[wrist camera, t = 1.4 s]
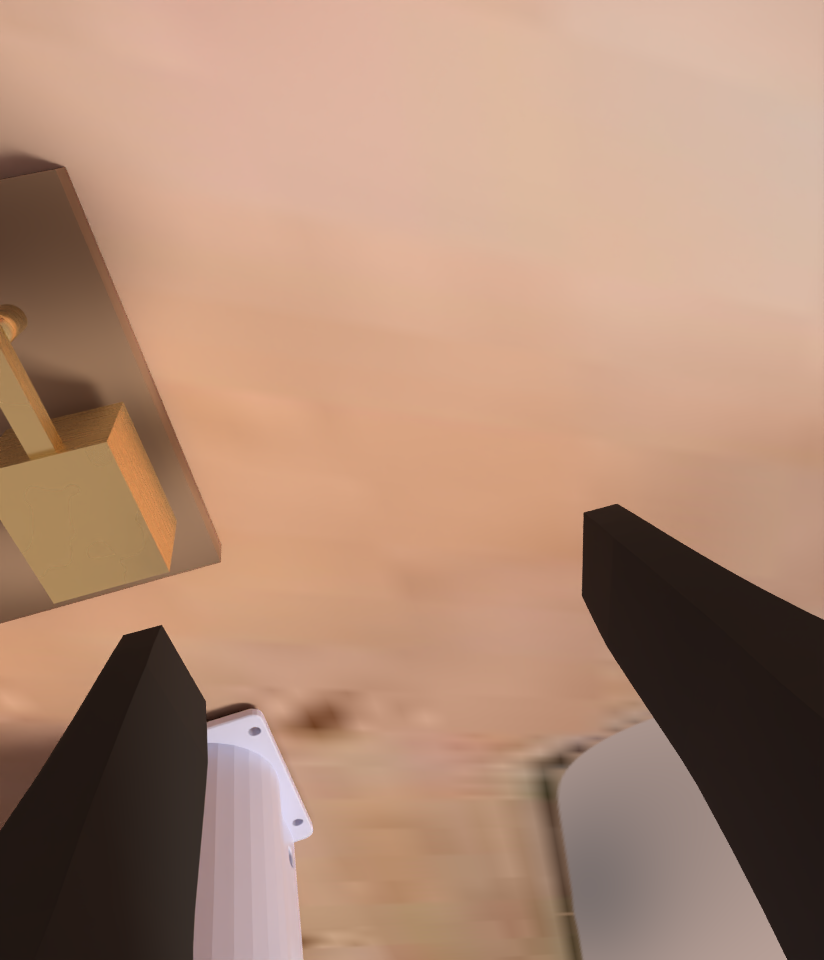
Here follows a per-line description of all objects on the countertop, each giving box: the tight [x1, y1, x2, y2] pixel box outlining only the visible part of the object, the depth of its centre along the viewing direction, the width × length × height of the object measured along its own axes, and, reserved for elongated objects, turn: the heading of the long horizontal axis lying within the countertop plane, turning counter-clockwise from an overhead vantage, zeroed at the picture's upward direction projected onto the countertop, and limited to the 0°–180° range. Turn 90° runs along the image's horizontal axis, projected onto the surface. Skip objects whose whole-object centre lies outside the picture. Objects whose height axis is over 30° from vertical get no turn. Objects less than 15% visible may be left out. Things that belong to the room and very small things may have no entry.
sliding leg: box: [0, 304, 177, 604], centre depth 15 cm, size 7×3×2 cm, turn 9°
